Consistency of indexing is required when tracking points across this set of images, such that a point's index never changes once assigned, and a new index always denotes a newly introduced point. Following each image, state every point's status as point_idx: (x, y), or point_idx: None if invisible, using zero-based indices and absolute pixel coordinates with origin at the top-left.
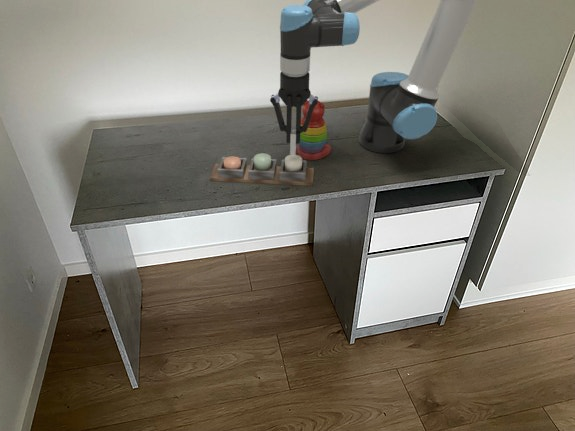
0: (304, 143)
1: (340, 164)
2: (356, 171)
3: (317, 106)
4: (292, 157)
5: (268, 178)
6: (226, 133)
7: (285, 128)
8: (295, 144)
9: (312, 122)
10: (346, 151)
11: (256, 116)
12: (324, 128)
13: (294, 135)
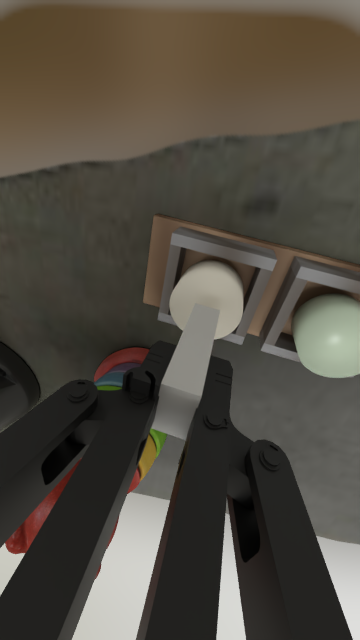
0: None
1: (74, 313)
2: (32, 272)
3: (33, 537)
4: None
5: (318, 263)
6: (341, 498)
7: (235, 457)
8: (182, 334)
9: None
10: (63, 361)
11: None
12: None
13: (173, 380)
